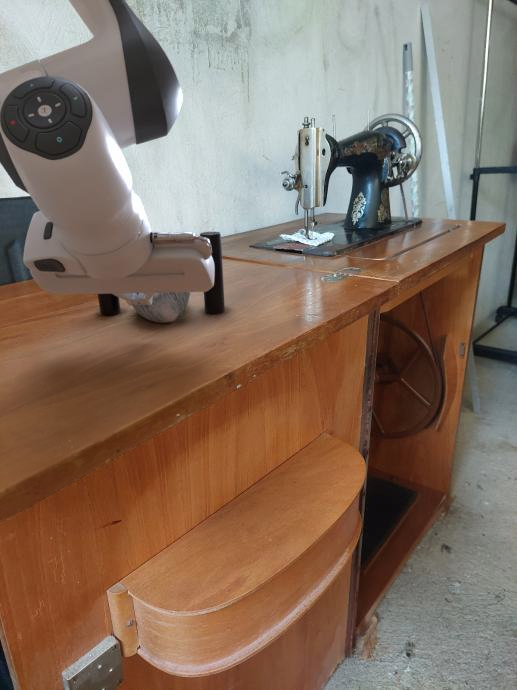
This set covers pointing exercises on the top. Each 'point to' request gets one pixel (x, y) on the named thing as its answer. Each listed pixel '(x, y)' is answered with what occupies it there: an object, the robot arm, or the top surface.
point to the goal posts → (211, 297)
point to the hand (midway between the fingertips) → (141, 300)
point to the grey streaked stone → (164, 307)
